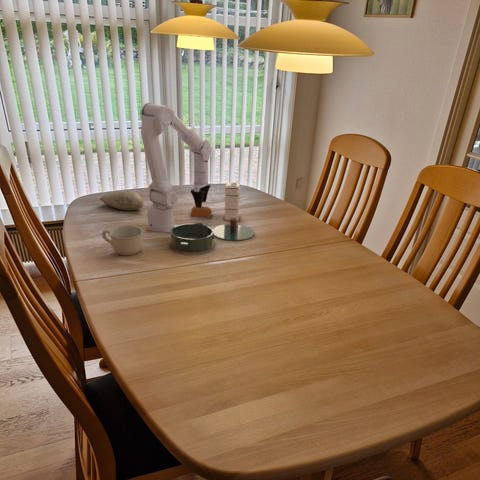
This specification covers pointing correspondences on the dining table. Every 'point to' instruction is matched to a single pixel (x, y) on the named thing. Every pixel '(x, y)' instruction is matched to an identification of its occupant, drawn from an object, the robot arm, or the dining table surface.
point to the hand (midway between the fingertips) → (200, 204)
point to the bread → (201, 212)
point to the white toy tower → (232, 200)
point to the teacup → (125, 239)
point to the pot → (192, 244)
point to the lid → (233, 231)
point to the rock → (123, 200)
